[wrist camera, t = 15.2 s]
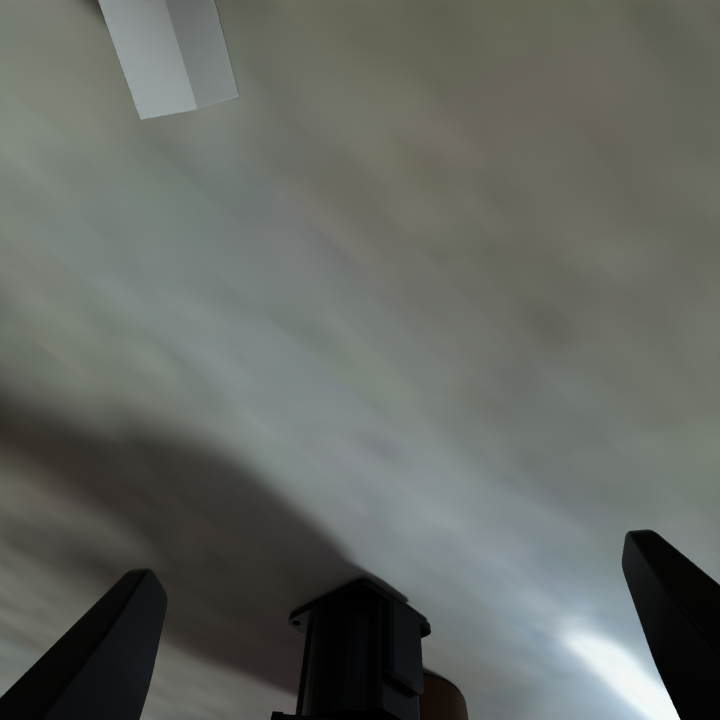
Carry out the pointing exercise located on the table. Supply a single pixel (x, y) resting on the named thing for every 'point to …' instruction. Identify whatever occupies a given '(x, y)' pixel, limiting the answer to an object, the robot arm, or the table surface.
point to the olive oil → (441, 701)
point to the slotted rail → (170, 54)
